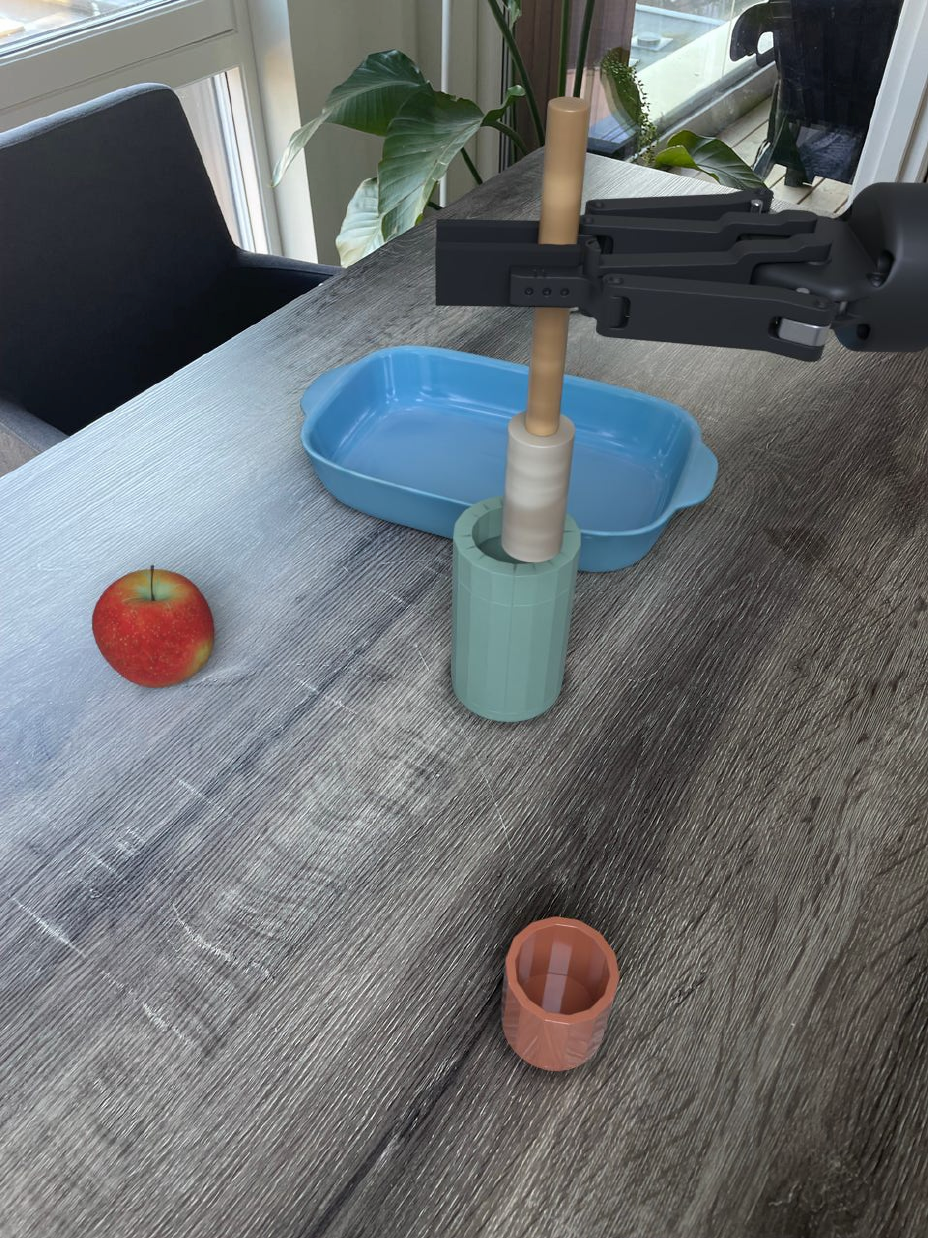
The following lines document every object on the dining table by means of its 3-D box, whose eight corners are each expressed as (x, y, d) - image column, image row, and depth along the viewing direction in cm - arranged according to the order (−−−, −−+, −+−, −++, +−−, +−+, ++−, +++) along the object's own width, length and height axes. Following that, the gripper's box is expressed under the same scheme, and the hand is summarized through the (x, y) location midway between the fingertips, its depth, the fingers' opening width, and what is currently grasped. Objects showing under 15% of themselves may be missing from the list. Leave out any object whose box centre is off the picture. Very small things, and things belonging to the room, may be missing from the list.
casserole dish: (723, 469, 94) (739, 403, 89) (674, 624, 79) (690, 555, 74) (365, 389, 103) (362, 325, 98) (259, 515, 87) (248, 447, 82)
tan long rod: (541, 571, 57) (585, 123, 40) (489, 547, 58) (510, 105, 41) (573, 538, 59) (628, 100, 42) (522, 515, 60) (554, 83, 43)
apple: (101, 650, 75) (67, 549, 68) (207, 621, 78) (185, 520, 71) (121, 726, 70) (87, 625, 63) (234, 692, 73) (213, 591, 66)
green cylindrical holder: (524, 740, 70) (538, 594, 60) (428, 689, 73) (427, 542, 64) (582, 670, 75) (604, 525, 65) (490, 625, 78) (498, 480, 68)
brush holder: (572, 1094, 53) (584, 1047, 49) (480, 1030, 55) (483, 980, 51) (624, 1006, 56) (639, 956, 52) (535, 950, 59) (542, 897, 55)
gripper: (964, 426, 44) (433, 419, 44) (866, 274, 55) (438, 267, 54) (1035, 264, 39) (432, 254, 39) (912, 130, 50) (438, 121, 49)
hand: (436, 261), depth 47 cm, fingers closed on tan long rod, 2 cm apart
